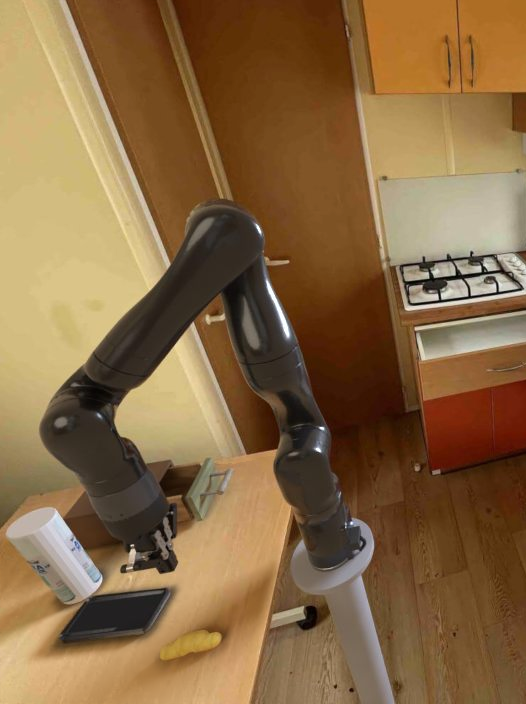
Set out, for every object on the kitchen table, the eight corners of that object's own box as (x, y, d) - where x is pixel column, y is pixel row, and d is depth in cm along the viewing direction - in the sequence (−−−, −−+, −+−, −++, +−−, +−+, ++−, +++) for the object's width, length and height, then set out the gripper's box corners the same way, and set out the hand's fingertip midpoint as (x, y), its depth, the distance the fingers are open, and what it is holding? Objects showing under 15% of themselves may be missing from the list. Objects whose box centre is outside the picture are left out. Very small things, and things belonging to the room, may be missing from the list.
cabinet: (184, 487, 107) (171, 459, 103) (159, 533, 96) (143, 504, 91) (117, 499, 104) (100, 470, 100) (83, 548, 92) (61, 519, 88)
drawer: (242, 475, 109) (233, 453, 106) (226, 515, 99) (215, 492, 95) (160, 490, 105) (148, 467, 102) (134, 533, 95) (120, 509, 91)
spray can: (54, 595, 83) (-2, 529, 74) (94, 567, 89) (47, 501, 80) (69, 611, 81) (13, 544, 72) (110, 581, 86) (63, 515, 77)
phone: (88, 596, 82) (171, 587, 84) (91, 599, 83) (173, 590, 84) (54, 641, 75) (144, 630, 77) (57, 644, 76) (147, 634, 77)
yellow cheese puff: (226, 627, 78) (220, 622, 76) (221, 648, 76) (215, 643, 74) (168, 642, 76) (160, 637, 74) (161, 663, 74) (153, 659, 72)
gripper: (134, 531, 60) (177, 602, 68) (177, 463, 72) (209, 530, 80) (72, 542, 59) (123, 613, 67) (126, 471, 70) (164, 539, 78)
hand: (170, 568), depth 73 cm, fingers closed
